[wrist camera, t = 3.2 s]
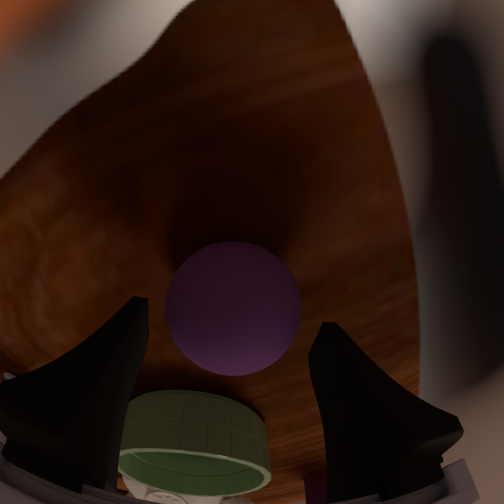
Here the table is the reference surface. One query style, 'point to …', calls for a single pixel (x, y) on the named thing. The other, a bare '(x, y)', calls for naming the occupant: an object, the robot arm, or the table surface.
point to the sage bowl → (194, 444)
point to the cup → (316, 488)
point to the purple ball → (233, 308)
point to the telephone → (176, 496)
